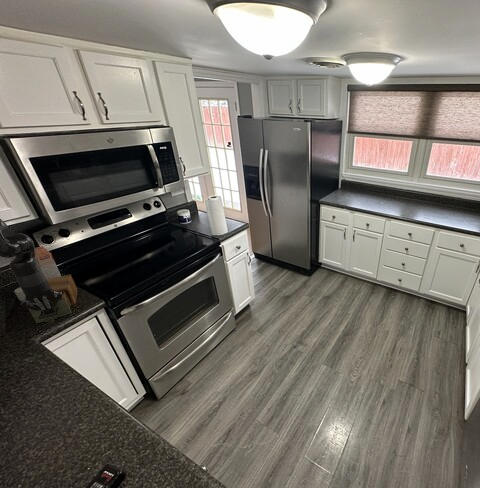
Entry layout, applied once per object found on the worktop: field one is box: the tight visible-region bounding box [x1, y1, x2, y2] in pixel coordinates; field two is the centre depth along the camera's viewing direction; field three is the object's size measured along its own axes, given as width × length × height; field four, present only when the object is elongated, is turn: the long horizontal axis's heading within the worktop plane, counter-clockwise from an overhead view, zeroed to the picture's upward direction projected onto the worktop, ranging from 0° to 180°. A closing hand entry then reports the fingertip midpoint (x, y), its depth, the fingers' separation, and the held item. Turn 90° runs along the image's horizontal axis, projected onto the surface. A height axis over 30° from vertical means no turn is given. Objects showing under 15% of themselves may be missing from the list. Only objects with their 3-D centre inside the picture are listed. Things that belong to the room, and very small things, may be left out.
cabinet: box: [47, 273, 78, 306], centre depth 127 cm, size 15×13×10 cm
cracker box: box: [35, 245, 62, 279], centre depth 136 cm, size 14×6×21 cm, turn 56°
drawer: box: [28, 290, 73, 324], centre depth 119 cm, size 18×11×8 cm, turn 37°
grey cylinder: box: [13, 286, 26, 302], centre depth 130 cm, size 5×5×6 cm
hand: (50, 314), depth 114 cm, fingers closed
